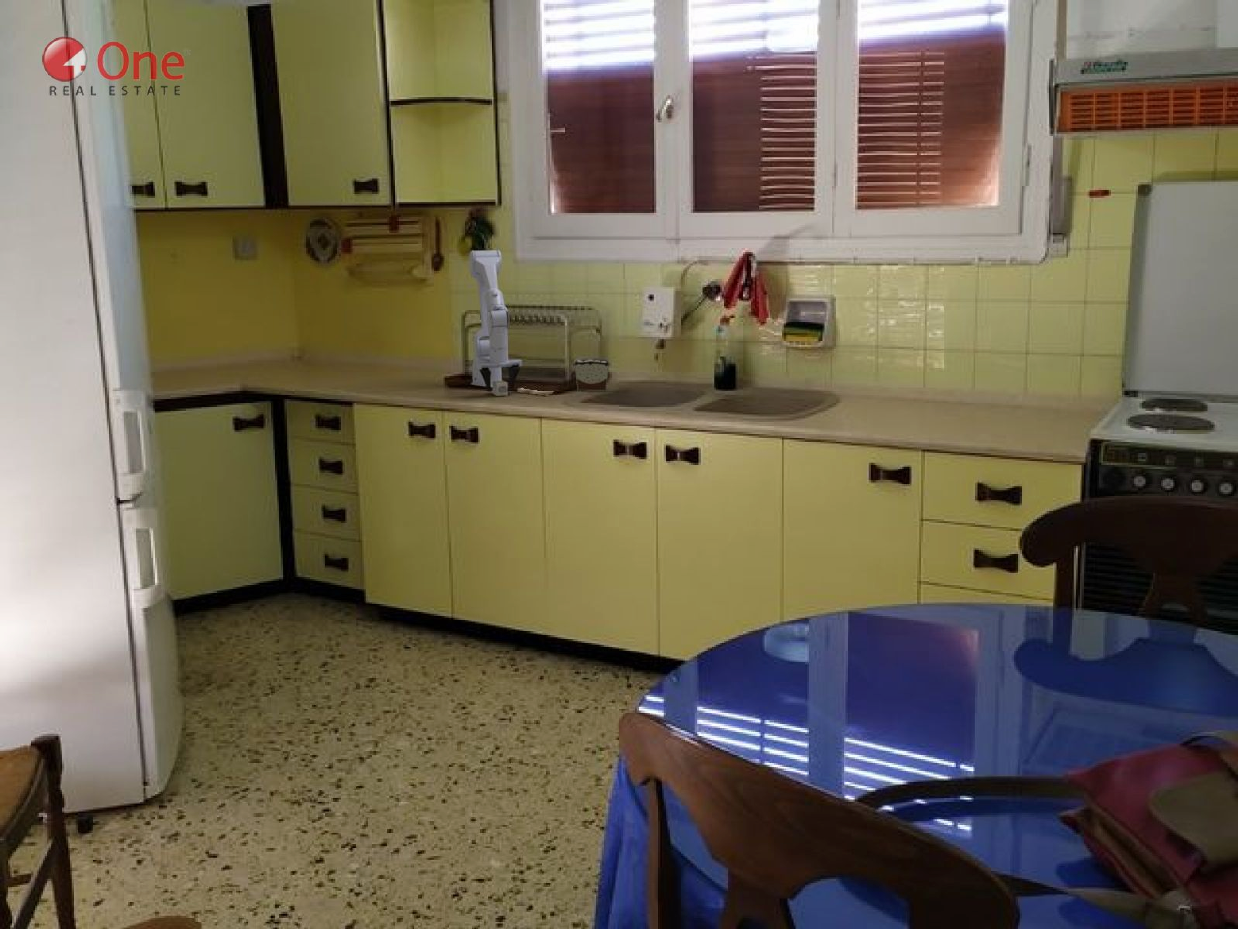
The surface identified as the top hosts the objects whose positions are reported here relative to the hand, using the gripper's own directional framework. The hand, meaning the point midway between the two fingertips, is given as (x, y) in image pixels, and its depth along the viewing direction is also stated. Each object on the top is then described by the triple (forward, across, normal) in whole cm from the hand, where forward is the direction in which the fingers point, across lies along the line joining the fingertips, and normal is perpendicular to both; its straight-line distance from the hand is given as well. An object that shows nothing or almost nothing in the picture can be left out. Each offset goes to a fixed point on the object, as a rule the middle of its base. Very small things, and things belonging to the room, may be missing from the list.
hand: (500, 389), depth 375 cm
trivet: (+1, +14, -1) cm, 14 cm away
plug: (+2, 0, 0) cm, 2 cm away
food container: (+2, +30, -4) cm, 31 cm away
